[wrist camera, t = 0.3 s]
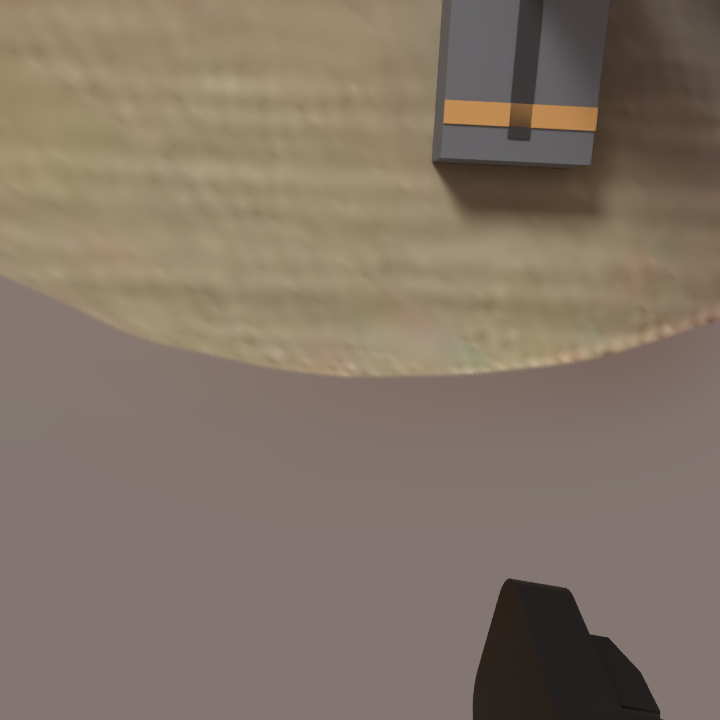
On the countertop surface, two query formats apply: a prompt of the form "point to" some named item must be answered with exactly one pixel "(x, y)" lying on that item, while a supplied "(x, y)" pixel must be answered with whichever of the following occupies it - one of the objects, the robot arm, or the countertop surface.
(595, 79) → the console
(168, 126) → the countertop surface
